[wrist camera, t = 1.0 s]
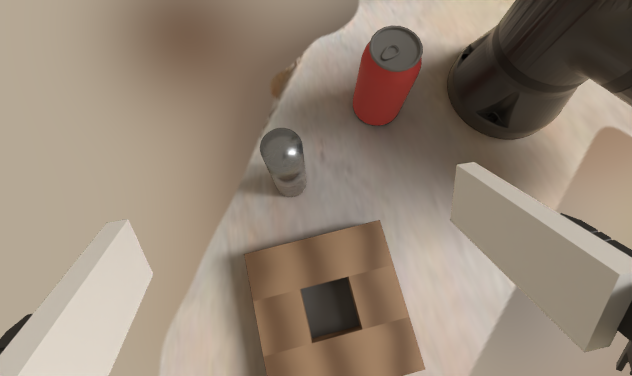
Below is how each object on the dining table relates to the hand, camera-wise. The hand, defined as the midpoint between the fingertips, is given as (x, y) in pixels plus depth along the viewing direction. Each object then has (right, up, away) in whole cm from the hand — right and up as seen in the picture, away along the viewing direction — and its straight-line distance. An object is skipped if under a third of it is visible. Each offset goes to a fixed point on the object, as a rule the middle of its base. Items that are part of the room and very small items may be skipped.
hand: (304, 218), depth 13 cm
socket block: (+2, -13, +24) cm, 28 cm away
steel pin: (-3, +2, +28) cm, 29 cm away
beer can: (+9, +13, +31) cm, 35 cm away
